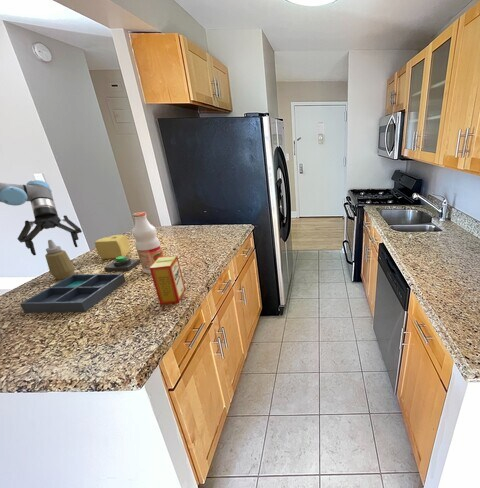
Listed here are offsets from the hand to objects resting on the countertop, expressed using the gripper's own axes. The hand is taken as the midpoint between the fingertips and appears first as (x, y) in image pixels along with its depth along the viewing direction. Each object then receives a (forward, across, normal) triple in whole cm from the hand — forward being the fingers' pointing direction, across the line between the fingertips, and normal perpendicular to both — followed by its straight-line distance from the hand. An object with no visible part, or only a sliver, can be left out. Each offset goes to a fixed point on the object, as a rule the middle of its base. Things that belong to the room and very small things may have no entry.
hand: (55, 249), depth 116 cm
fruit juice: (+25, -32, +7) cm, 41 cm away
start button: (+13, -21, 0) cm, 25 cm away
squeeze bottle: (+11, 0, -7) cm, 13 cm away
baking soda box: (+47, -33, +29) cm, 64 cm away
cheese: (+1, -20, -17) cm, 26 cm away
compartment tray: (+29, -5, +11) cm, 31 cm away
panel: (+15, -21, -3) cm, 26 cm away
